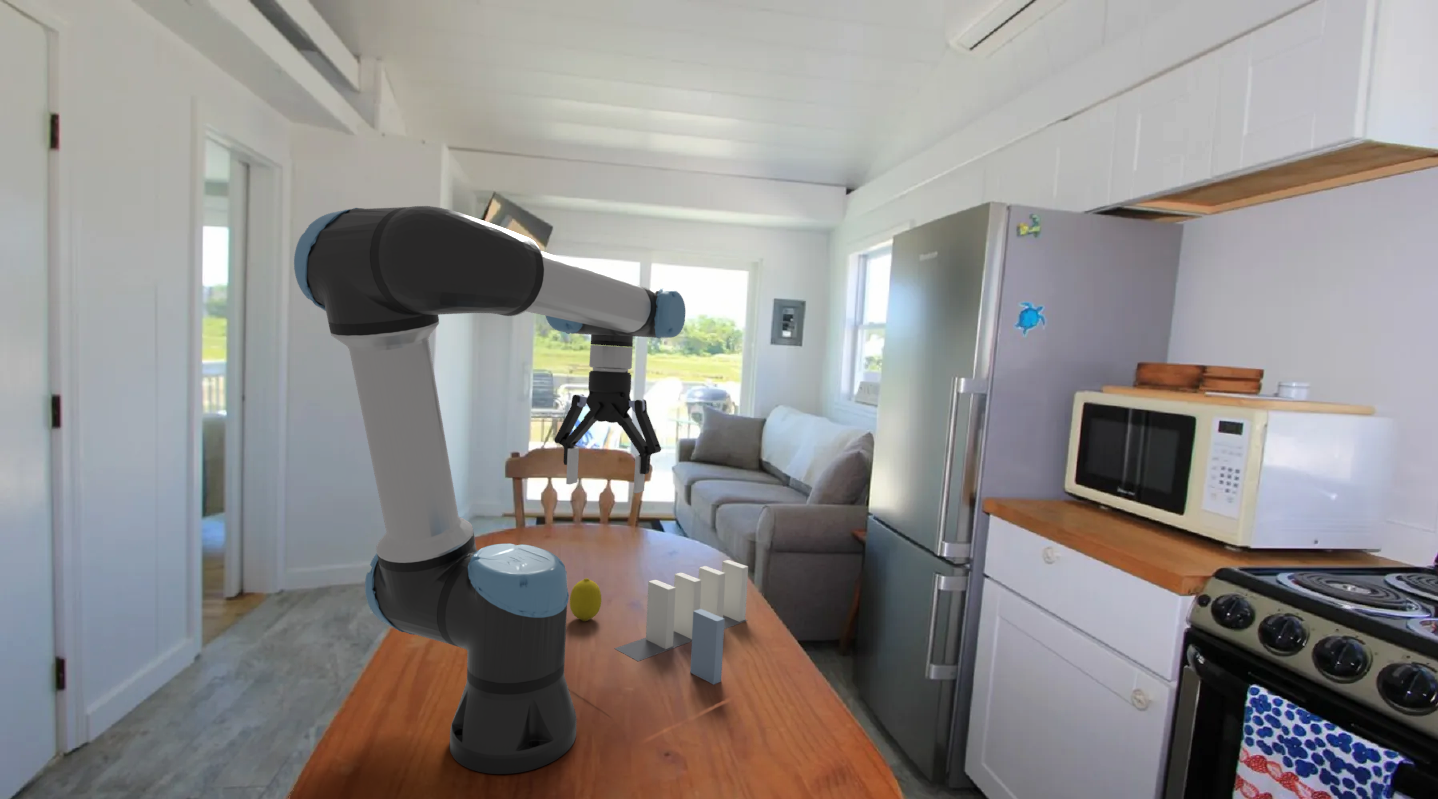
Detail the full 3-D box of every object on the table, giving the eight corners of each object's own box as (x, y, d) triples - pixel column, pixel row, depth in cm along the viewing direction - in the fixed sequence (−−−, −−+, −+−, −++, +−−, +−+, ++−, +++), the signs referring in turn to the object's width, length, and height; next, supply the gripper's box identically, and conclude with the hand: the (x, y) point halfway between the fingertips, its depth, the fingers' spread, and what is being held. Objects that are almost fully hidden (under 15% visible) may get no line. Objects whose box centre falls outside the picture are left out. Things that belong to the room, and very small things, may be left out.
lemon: (606, 622, 124) (608, 579, 124) (581, 630, 120) (582, 585, 120) (588, 613, 128) (589, 571, 127) (562, 621, 124) (564, 577, 123)
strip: (637, 663, 109) (638, 661, 109) (614, 650, 113) (614, 648, 113) (747, 622, 128) (747, 620, 128) (724, 612, 132) (724, 610, 132)
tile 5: (739, 621, 127) (742, 568, 126) (719, 613, 130) (722, 561, 129) (745, 619, 128) (748, 566, 127) (725, 611, 131) (728, 559, 131)
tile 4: (716, 630, 122) (719, 574, 122) (696, 621, 126) (699, 567, 125) (722, 627, 123) (725, 573, 123) (702, 619, 127) (705, 565, 126)
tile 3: (691, 639, 118) (694, 581, 117) (672, 630, 121) (674, 574, 121) (698, 636, 119) (701, 580, 118) (678, 627, 123) (681, 572, 122)
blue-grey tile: (713, 687, 103) (717, 621, 102) (690, 674, 106) (693, 611, 105) (721, 683, 104) (724, 618, 103) (697, 671, 107) (700, 608, 107)
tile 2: (665, 649, 114) (668, 589, 113) (645, 639, 117) (648, 581, 116) (672, 646, 115) (675, 587, 114) (653, 636, 118) (655, 579, 118)
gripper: (682, 374, 124) (676, 492, 125) (561, 366, 132) (556, 476, 133) (666, 374, 117) (659, 499, 118) (538, 365, 125) (533, 482, 126)
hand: (604, 487), depth 126 cm, fingers open, 13 cm apart
